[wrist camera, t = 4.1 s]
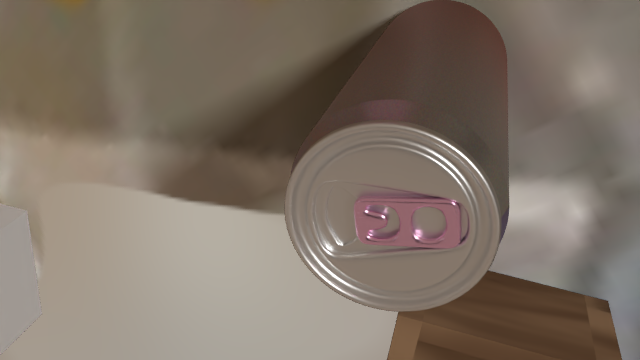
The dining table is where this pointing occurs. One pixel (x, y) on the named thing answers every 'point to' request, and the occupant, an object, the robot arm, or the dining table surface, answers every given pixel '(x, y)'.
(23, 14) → the dining table surface
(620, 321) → the dining table surface
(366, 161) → the beverage can
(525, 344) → the wooden box
